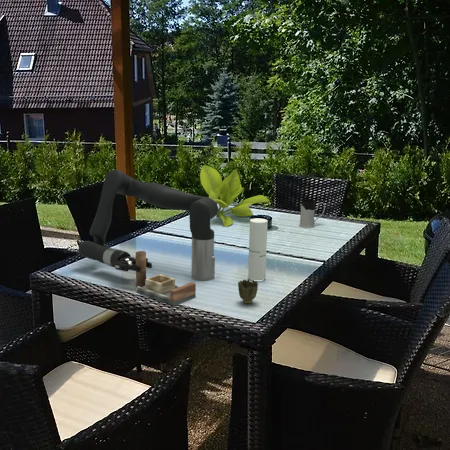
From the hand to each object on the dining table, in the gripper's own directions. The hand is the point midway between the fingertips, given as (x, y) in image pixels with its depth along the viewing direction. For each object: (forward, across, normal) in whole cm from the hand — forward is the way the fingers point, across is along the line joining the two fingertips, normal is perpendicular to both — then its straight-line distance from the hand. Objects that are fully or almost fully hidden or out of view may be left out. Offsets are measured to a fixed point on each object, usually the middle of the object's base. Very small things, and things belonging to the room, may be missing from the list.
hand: (145, 267), depth 219 cm
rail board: (+11, 0, +8) cm, 14 cm away
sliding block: (+8, 0, +7) cm, 10 cm away
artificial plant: (-45, +110, +9) cm, 119 cm away
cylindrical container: (+26, +38, +9) cm, 47 cm away
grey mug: (-1, +130, +9) cm, 130 cm away
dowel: (-3, 0, +8) cm, 9 cm away
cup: (+39, +14, +9) cm, 43 cm away
